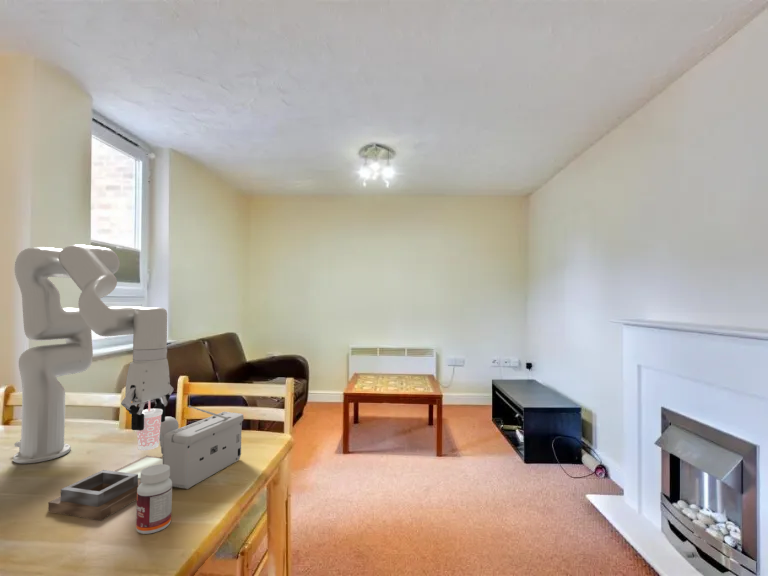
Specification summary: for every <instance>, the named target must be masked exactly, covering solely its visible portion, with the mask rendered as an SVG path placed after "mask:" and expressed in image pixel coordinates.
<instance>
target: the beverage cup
mask: <svg viewBox="0 0 768 576" xmlns="http://www.w3.org/2000/svg"><path fill="white" fill-rule="evenodd" d="M147 406H148V407H147V408H146V409H143V411H142V414H144V429H143V430H141V431H140V430H136V433H137V434H136V436H137V449H138V450H139V451H150V450H153V449H156V448H159V446H160V440H159V437H160V426H161V415H162V412H163V410H162V409H154V408H151V401H147Z"/></svg>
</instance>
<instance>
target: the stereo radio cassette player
mask: <svg viewBox="0 0 768 576" xmlns="http://www.w3.org/2000/svg"><path fill="white" fill-rule="evenodd" d="M188 408H190V409H191V408H192V409H195V410H197V411H201V412H202V413H206V414H209V415H211V416H209V417H206V418H203V419H200V420H198V421H195V422H192V423H190V424H188V425H185V426H182V427H178V429H176V430H173V431H171V432H168V433H166V434H165V435H164V440H163V454H162V457H163V464H165V465H169V466H170V477H169V478H170V479H171V481H172V488H180V489H186V490H189V489H190V488H191V487H193V486H195V485H197V484H199V483H201V482H202V481H204V480H205V479H208V478H209V477H211V476H213V475H215V474H216V473H218V472H220V471H222V470H223V469H226V468H227V467H229V466H231V465H233V464H234V463H236V462H238V461H239V460H240V459H241V455H242V426H243V421H244V420H245V419H244V418H245V417H244V414H243V413H240V412H239V413H238V412H230V411H221V412H219V413H215V412H212V411H208V410H204V409H201V408H197V407H193V406H192V405H188Z"/></svg>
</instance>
